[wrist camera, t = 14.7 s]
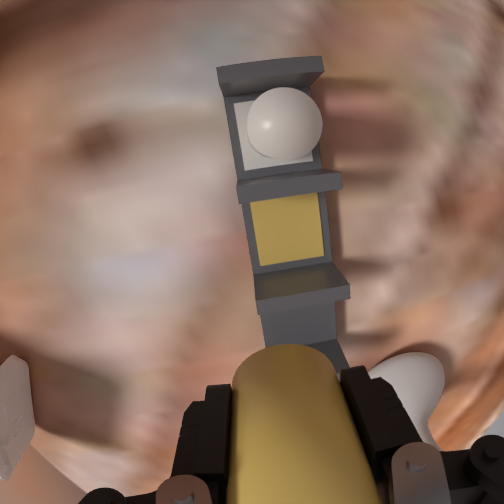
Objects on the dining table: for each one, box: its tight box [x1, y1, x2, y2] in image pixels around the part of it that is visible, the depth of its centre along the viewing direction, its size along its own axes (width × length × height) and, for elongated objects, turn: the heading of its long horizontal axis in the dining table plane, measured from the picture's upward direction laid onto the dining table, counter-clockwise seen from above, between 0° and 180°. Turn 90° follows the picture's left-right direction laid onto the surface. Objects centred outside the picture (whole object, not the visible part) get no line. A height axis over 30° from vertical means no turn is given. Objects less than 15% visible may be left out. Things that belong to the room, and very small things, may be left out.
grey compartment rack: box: [216, 56, 350, 382], centre depth 22 cm, size 22×6×6 cm, turn 9°
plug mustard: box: [226, 344, 383, 504], centre depth 7 cm, size 4×4×7 cm
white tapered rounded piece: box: [368, 352, 445, 451], centre depth 18 cm, size 13×11×25 cm
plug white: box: [247, 87, 323, 160], centre depth 18 cm, size 4×4×7 cm
